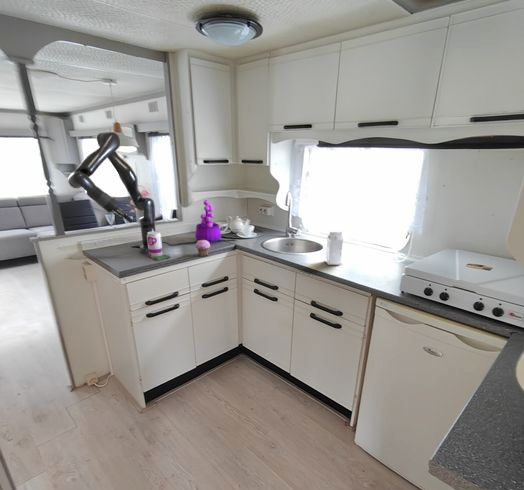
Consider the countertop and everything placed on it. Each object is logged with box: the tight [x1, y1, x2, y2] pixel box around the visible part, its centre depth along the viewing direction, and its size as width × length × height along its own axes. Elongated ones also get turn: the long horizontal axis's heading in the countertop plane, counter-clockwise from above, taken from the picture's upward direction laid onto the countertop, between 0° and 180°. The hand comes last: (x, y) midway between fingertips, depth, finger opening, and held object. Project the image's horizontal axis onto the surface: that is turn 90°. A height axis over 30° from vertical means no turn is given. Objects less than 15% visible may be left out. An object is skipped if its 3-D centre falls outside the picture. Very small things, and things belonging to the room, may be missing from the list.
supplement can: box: [147, 230, 164, 259], centre depth 201 cm, size 8×8×15 cm
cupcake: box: [195, 240, 211, 257], centre depth 205 cm, size 9×9×10 cm
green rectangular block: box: [153, 254, 170, 261], centre depth 199 cm, size 8×4×1 cm, turn 136°
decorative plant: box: [194, 199, 222, 244], centre depth 232 cm, size 19×18×30 cm
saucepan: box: [130, 244, 149, 255], centre depth 212 cm, size 19×11×4 cm, turn 76°
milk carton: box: [325, 231, 344, 266], centre depth 192 cm, size 7×7×19 cm
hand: (132, 221), depth 189 cm, fingers closed
